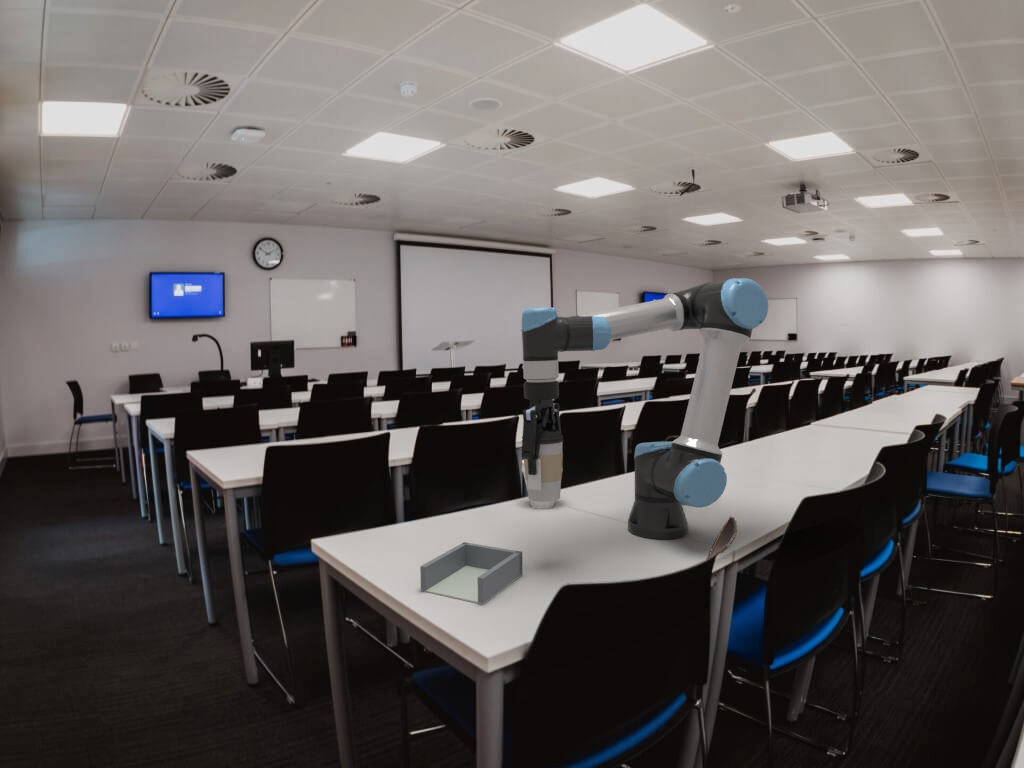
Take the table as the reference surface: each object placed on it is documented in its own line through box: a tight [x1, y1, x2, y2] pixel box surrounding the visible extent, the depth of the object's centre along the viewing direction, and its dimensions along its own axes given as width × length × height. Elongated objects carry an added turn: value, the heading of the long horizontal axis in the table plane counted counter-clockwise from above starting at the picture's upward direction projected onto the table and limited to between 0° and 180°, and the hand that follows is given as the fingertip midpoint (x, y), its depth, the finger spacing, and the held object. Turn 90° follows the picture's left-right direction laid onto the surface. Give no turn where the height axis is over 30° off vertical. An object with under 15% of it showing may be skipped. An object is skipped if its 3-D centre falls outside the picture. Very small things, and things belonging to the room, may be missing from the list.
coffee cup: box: [521, 429, 565, 502], centre depth 132 cm, size 9×9×15 cm
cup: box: [521, 459, 563, 510], centre depth 182 cm, size 12×12×14 cm
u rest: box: [419, 541, 523, 605], centre depth 124 cm, size 14×16×5 cm
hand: (544, 484), depth 132 cm, fingers closed on coffee cup, 8 cm apart
